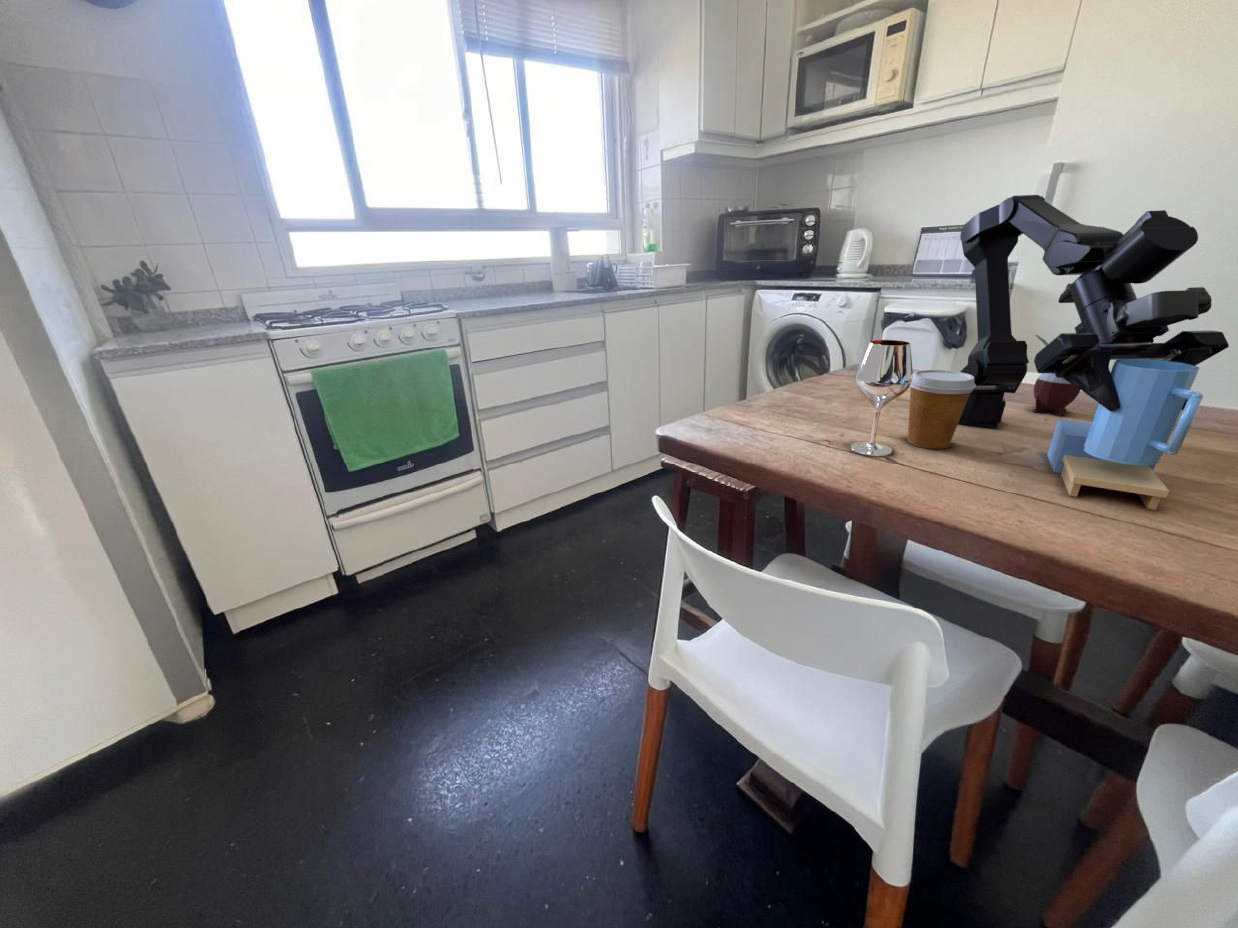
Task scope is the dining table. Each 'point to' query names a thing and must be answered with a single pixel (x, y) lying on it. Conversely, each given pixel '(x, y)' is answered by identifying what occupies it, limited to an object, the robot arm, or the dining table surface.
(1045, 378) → the mate gourd
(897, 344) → the wineglass
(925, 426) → the disposable coffee cup
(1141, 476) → the blue and wooden stand
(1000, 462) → the dining table surface
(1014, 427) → the dining table surface
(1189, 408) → the blue mug
